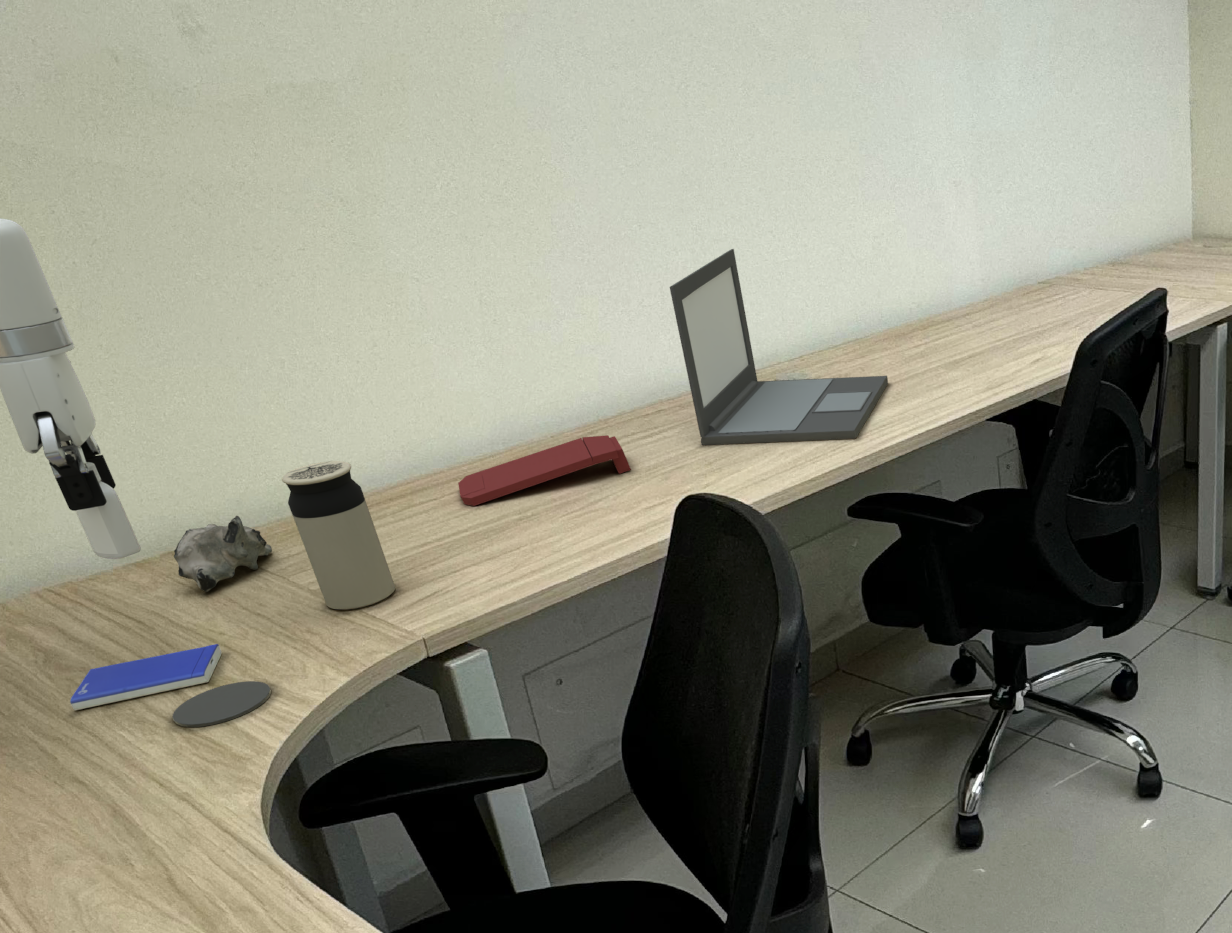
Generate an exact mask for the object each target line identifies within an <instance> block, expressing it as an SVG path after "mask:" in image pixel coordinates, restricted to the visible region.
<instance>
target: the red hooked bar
mask: <svg viewBox="0 0 1232 933" xmlns="http://www.w3.org/2000/svg"><path fill="white" fill-rule="evenodd" d="M609 461H611V462H612V464H613V465H614V467H615V469H616V471H617V473H618V474H619V475H620V474H623V473H626V472H629V471H631V470H632V469H631V466H630V463H629V460H628V459H627V456H626V454H625V452H624V449H623V447H622V445H621V444H620V442H619V440H618V439H617V437H616V436H611V437H610V436H609V435H607V434H606V435H595V436H593V435H592V436H582V437H578V438H576V439H572V440H570V441H567V442H564V443H560V444H557V445H555V446H552V447H549V448H546V449H543V450H540V451H537V452H534V453H531V454H528V455H525V456H521V457H519V458H516V459H513V460H510V461H506V462H503V463H501V464H498V465H495V466H492V467H488V468H485V469H483V470H480V471H477V472H474V473H471V474H468V475H466V476H465V477H463V478H462V479H461V480H460V481H459V482H457V486H458V490H459V497H460V499H461V500H462V502H463V505H466V506H474V507H475V506H477V505H480V504H484V503H486V502H490V501H492V500H496V499H498V498H501V497H504V496H507V495H510V494H513V493H515V492H518V491H522V490H524V489H527V488H530V487H534V486H536V485H539V484H542V483H545V482H547V481H551V480H555V479H556V478H559V477H562V476H565V475H569V474H571V473H573V472H577V471H580V470H582V469H586V468H589V467H592V466H594V465H597V464H601V463H605V462H609Z"/></svg>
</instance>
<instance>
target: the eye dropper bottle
mask: <svg viewBox="0 0 1232 933" xmlns="http://www.w3.org/2000/svg"><path fill="white" fill-rule="evenodd" d="M71 456H72V457H74V459H75V460H76V458H75V455H74V454H72V455H71ZM86 463H87V466H88V469H89V471H90V470H93V471H94V473H95V475H96V478H97V480H98V482H99V485H100V487H101V489H102V491H103V494H104V496H105V498H106V501H107V502H106V504H105V505H104V506H99V507H93V508H87V509H82V510H76V511H75V514H76V516H77V519H78V521H79V522H80V525H81V527H82V529H83V531H84V534H85V536H86V538H87V540H88V542H89V545H90V547H91V549H92V552H93V553H94V554H95V555H96V556H97V557H99V558H102V559H114V560H116V559H123V558H127V557H129V556H133V555H135V554H137V553H140V552H141V551H142V549H141V545H140V543H139V540H138V538H137V536H136V534H135V531H134V528H133V527H132V524H131V522H130V520H129V517H128V516H127V512H126V510H125V508H124V506H123V503H122V501H121V500H120V498H119V495H118V493H117V491H116V490H115V488H114V489H113V488H112V487H111V486H109V485H107V484H106V483H103V482H101V478H100V476H99V473H98V471H97V469H96V467H95V464H94V463H90V462H86Z"/></svg>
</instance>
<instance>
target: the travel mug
mask: <svg viewBox="0 0 1232 933" xmlns="http://www.w3.org/2000/svg"><path fill="white" fill-rule="evenodd" d="M351 470H352V465H351V464H350V463H349V462H347V461H343V460H328V461H321V462H315V463H310V464H306V465H303V466H298V467H296V468H294V469H291V470H289V471H287V472H285V473H284V474H283V475H282V477H281V481H282V483H283V484H285V485H286V486H287V488H288V489H289V491H290V493H289V497H288V500H287V504H288V507H289V510H290V512H291V515H292V518H293V520H294V523H295V525H296V528H297V531H298V534H299V536H300V540H301V541H302V544H303V547H304V550H305V552H306V555H307V558H308V560H309V563H310V565H311V568H312V571H313V574H314V576H315V579H316V581H317V583H318V587H319V589H320V592H321V594H322V598H323V600H324V602H325V605H326V607H328V608H330V609H333V610H346V611H347V610H357V609H362V608H365V607H368V606H373V605H374V604H377V603H379V602H381V601H383V600H385V599H387V598H388V597H390V595H392V594H393V593H394V592H395V590H396V585H395V581H394V579H393V577H392V572H391V570H390V568H389V564H388V561H387V559H386V556H385V553H384V550H383V548H382V544H381V542H380V538H379V536H378V533H377V530H376V526H375V524H374V522H373V519H372V515H371V512H370V509H369V507H368V503H367V500H366V498H365V495H364V492H363V489H362V487H361V486H360V485H359V484H358V483H357V482H356V481H355V480H354V479H353V478H352V475H351Z"/></svg>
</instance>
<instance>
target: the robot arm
mask: <svg viewBox="0 0 1232 933" xmlns="http://www.w3.org/2000/svg"><path fill="white" fill-rule="evenodd" d="M37 256H38V255H37V254H36V252H35V250H34V247H33V245H32V242H31V240H30V238H29V235H28V234H27V232H26V230H25V229H24V227H23V226H22V225H20V224H19V223H18V222H16V221H14V220H12V219H9V218H8V219H7V218H0V392H1V394H2V397H3V400H4V403H5V405H6V408H7V410H8V413H9V415H10V417H11V421H12V423H13V426H14V428H15V430H16V433H17V435H18V438H19V441H20V443H21V446H22V447H23V449H24V451H25V452H26V453H29V454H32V455H33V454H37V453H38V452H39V451H40V450H41V449H42V450H43V454H44V457H45V458H46V459H47V460H48V464H49V466H50V469H51V471H52V474H53V476H54V479H55V480H56V483H57V485H58V488H59V489H60V492H61V494H62V496H63V499H64V500H65V503H66V505H67V508H68V510H70V511H73V512H76V510H82V509H87V508H93V507H99V506H104V505H105V504H106V502H107V501H106V498H105V496H104V494H103V491H102V489H101V487H100V485H99V482H98V480H97V478H96V475H95V473H94V471H93V470H90V471H89V469H88V466H87V463H86V462H90V463H94V464H95V467H96V469H97V471H98V473H99V476H100V478H101V482H103V483H106V484H107V485H109V486H111V487H112V488H113V489H114V490H115V488H116V484H117V483H116V482H115V479H114V477H113V474H112V472H111V471H110V468H109V465H108V463H107V461H106V459H105V456H104V454H102V452H101V448H100V445H99V444H98V443H97V440H96V439H95V437H94V435H93V431H94V430H95V428H96V424H97V423H96V419H95V416H94V413H93V409H92V407H91V405H90V404H91V403H90V402H89V400H88V397H87V394H86V393H85V390H84V388H83V386H82V384H81V382H80V380H79V377H78V375H77V372H76V371H75V369H74V366H73V365H72V361H71V359H70V358H69V357H68V355H67V352H70V351H72V350H74V349H75V348H76V346H75V344H74V342H73V339H72V337H71V336H72V335H71V334H70V331H69V329H68V327H67V325H66V322H65V320H64V318H63V316H62V314H61V311H60V309H59V306H58V304H57V302H56V299H55V297H54V295H53V292H52V290H51V287H50V285H49V282H48V280H47V278H46V275H45V273H44V270H43V268H42V266H41V264H40V261H39V259H38V257H37ZM72 454H74V455H75V458H76V460H75V459H74V457H72V456H71V455H72Z"/></svg>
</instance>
